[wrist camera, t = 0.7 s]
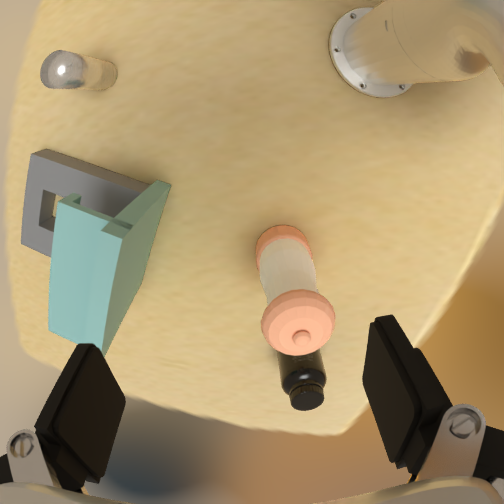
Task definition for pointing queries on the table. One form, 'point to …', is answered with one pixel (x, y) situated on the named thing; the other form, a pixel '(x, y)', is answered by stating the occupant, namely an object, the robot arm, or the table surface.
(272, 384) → the table surface
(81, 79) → the peg
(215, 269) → the table surface
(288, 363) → the supplement bottle
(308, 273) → the salt shaker
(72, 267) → the socket stand
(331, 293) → the table surface
